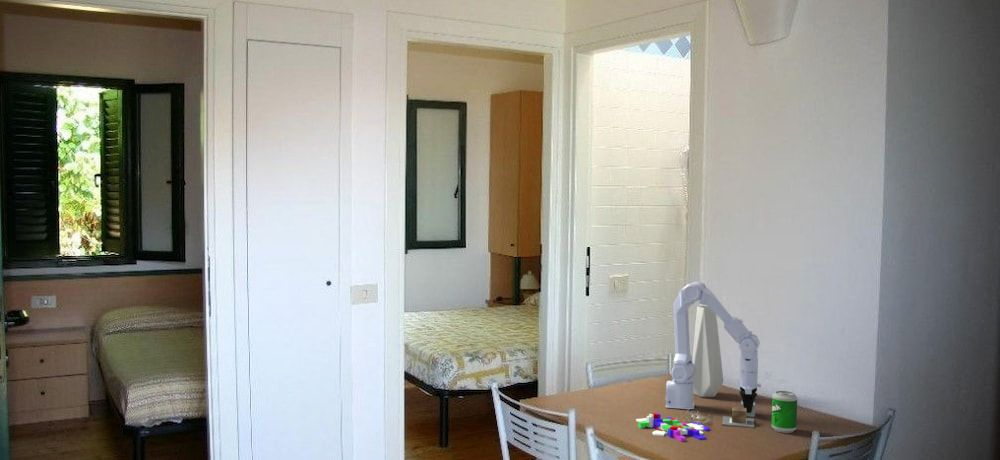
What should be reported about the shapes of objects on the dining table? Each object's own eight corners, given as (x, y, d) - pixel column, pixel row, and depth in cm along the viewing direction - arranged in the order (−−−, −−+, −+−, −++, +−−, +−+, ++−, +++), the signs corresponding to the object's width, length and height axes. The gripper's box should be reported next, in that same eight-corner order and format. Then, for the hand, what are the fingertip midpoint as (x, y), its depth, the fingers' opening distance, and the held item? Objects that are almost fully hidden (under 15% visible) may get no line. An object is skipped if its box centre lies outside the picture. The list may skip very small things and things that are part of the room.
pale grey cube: (740, 415, 287) (741, 404, 287) (740, 412, 291) (741, 400, 291) (754, 417, 286) (755, 405, 286) (754, 413, 290) (755, 402, 290)
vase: (726, 394, 317) (728, 306, 316) (716, 400, 308) (718, 309, 306) (695, 389, 324) (697, 303, 322) (684, 395, 314) (686, 307, 313)
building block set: (725, 438, 263) (726, 424, 262) (667, 445, 256) (667, 430, 256) (682, 418, 286) (682, 404, 286) (627, 423, 279) (628, 409, 279)
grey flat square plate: (722, 425, 276) (722, 423, 276) (722, 417, 285) (722, 416, 285) (754, 427, 273) (754, 426, 273) (754, 419, 282) (754, 418, 282)
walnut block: (731, 422, 277) (732, 410, 277) (731, 418, 282) (732, 407, 281) (746, 423, 276) (746, 411, 276) (746, 420, 280) (746, 408, 280)
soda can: (796, 428, 273) (797, 391, 272) (796, 434, 265) (797, 396, 265) (771, 426, 275) (772, 389, 274) (771, 432, 268) (772, 394, 267)
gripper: (761, 376, 280) (760, 417, 281) (760, 367, 294) (759, 406, 294) (739, 374, 282) (738, 415, 282) (739, 365, 296) (738, 404, 296)
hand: (747, 410), depth 289 cm, fingers closed on pale grey cube, 4 cm apart
